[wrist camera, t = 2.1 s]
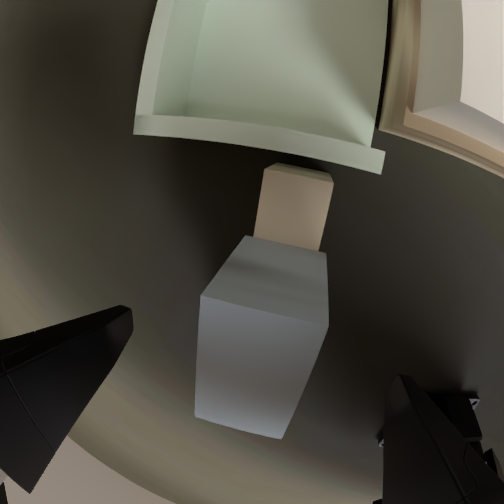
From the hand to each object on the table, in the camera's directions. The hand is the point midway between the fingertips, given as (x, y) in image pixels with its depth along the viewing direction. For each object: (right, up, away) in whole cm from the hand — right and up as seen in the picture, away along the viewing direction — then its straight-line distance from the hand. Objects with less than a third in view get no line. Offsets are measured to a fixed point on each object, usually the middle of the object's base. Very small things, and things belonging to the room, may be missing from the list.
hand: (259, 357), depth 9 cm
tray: (+2, +16, +1) cm, 16 cm away
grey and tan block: (+1, +2, +6) cm, 7 cm away
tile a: (+8, +9, -3) cm, 13 cm away
